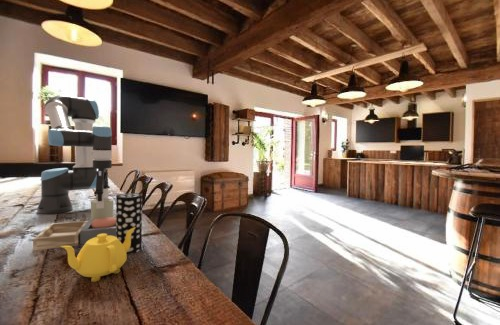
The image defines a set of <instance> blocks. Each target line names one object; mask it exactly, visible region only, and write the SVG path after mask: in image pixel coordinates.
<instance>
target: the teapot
mask: <svg viewBox="0 0 500 325" xmlns="http://www.w3.org/2000/svg"><path fill="white" fill-rule="evenodd" d="M135 228H136V227H134V228H132V229H130V230H129V231H128V232H127V234H126V238H125V241H124V243H123V244H122V243H121V242H120V240H119V239H118V238H117V237H115V236H111V235H107V234H105V233H103V234H99V235H97V237H95V238H92V239H90V240H88V241H87V242H86V243H85V244H83V245H82V247H81V249H80V250H79V252H78V254H77V255H76V254H75V249H74V248H73V247H74V246H61V247H60V248H62V249H65V250H66V253H67V263H68V266H70V268H72V269H74V270H75V271H76V272H77V273H78V274H79V275H81V276H83V277H85V278H91V279H90V282H92V283H96V282H99V281H100V280H101V279H102V278H101V277H104V276H108V275H111V274H114V275H116V274H119V273H121V271H122V270H121V267H122V266H123V265H124V264H125V263H126V261H127V258H128V257H127V255H128V254H126V253H127V252H128V250H129V249H130V246H131V234H132V232H133V230H134V229H135Z"/></svg>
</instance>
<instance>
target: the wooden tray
mask: <svg viewBox="0 0 500 325" xmlns="http://www.w3.org/2000/svg"><path fill="white" fill-rule="evenodd" d="M87 221H88V220H82V221H81V220H80V221H68V222H57V223H56V222H55V223H54V222H53V223H50V224H49V225H47V227H45V229H43V230H42V231H41V232H40V233H38V234H37V235H36V236H35V237H34V238H33V239H32V251H39V250H40V251H41V250H48V249H59V248H62V247H61V246H71V247H77V246H79V245H80V231H81V230H82V228H83V227H84V225H85V224H86V223H87Z"/></svg>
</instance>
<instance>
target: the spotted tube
mask: <svg viewBox="0 0 500 325" xmlns="http://www.w3.org/2000/svg"><path fill="white" fill-rule="evenodd" d="M115 199H116V200H115V203H116V204H115V206H116V207H115V212H116V213H115V218H116V237H117V238H118V239H119V240H120V242H121V243H122V244H123V243H124V241H125V238H126V234H127V232H128V231H129V230H130V229H132V228H134V227H136V228H135V229H134V230H133V232H132V234H131V246H130V249H129V250H128V252H127V253H126V254H127V255H132V254H135V253H138V252H140V251H141V250H142V248H143V247H142V246H143V245H142V244H143V242H142V241H143V240H142V239H143V238H142V237H143V194H142V193H137V192H134V193H133V192H129V193H122V194H121V193H120V194H117V195H116V198H115Z"/></svg>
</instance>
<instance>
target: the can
mask: <svg viewBox="0 0 500 325" xmlns="http://www.w3.org/2000/svg"><path fill="white" fill-rule="evenodd" d="M103 217H114V199H113V198H108V199H107V198H105V199H104V208H98V209H96V199H93V200H91V201H90V220H95V219H98V218H103Z"/></svg>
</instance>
